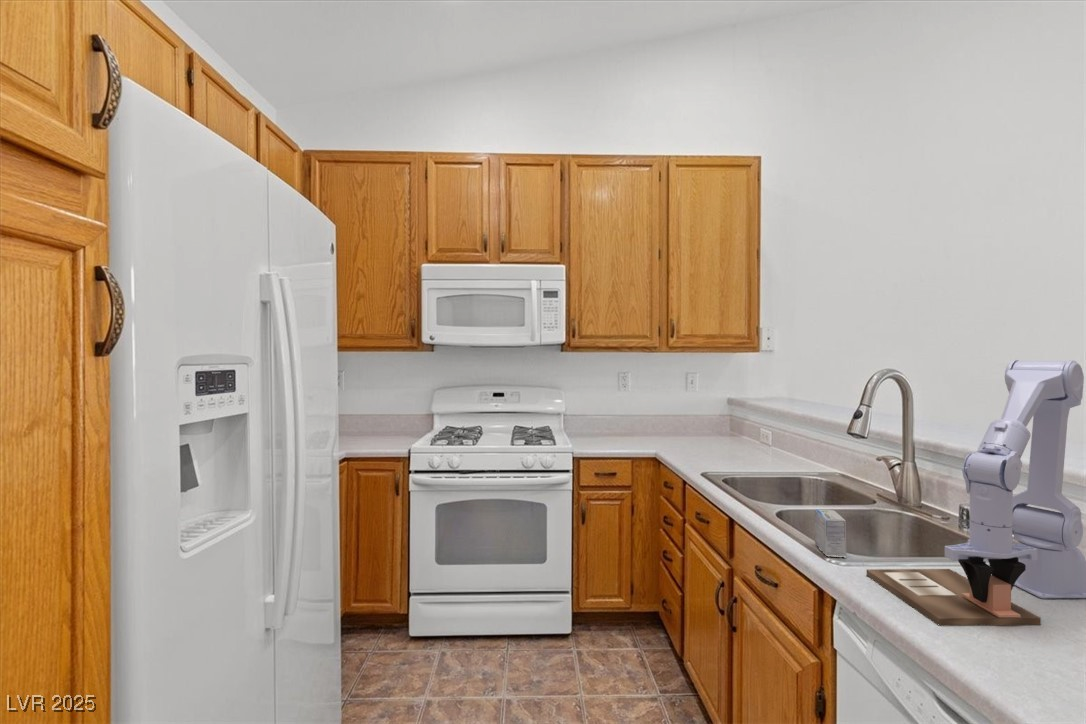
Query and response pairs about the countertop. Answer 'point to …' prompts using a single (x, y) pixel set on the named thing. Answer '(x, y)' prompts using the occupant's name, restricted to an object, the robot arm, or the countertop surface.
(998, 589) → the salmon block with base
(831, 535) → the medicine box
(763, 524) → the countertop surface
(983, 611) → the ticket board
